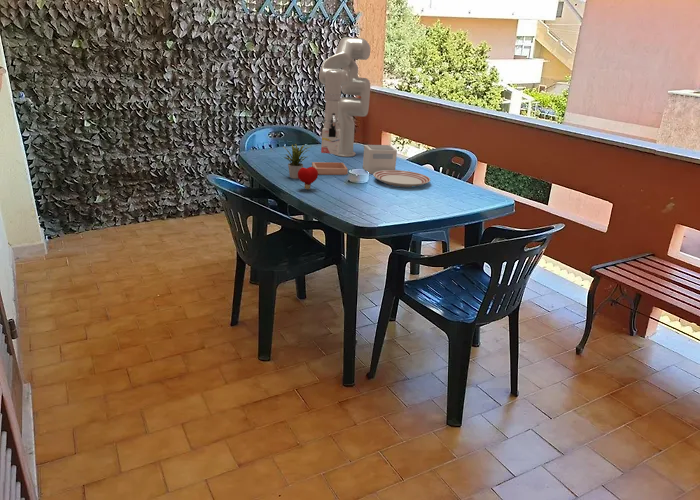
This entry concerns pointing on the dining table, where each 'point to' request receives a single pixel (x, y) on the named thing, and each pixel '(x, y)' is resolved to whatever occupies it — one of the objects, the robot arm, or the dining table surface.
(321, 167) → the tray
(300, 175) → the red heart ornament
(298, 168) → the house plant
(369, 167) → the grey unit
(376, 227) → the dining table surface
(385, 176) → the dinner plate
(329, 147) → the ink cartridge box
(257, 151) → the dining table surface
